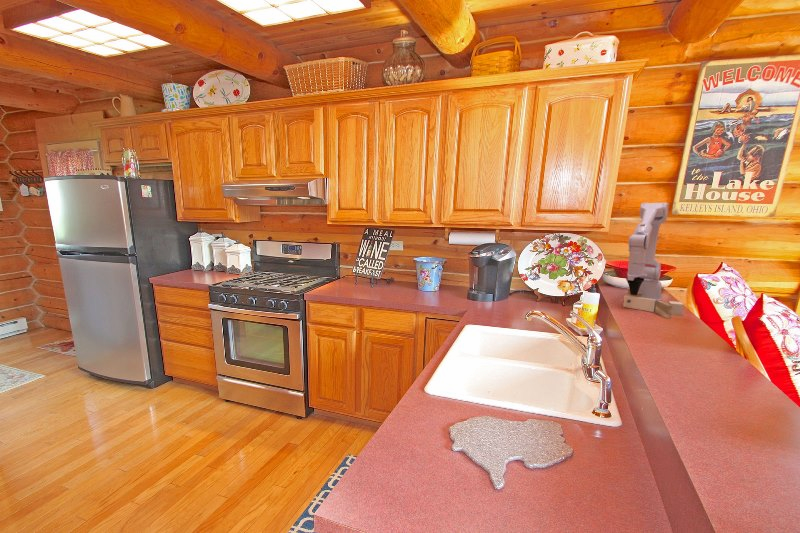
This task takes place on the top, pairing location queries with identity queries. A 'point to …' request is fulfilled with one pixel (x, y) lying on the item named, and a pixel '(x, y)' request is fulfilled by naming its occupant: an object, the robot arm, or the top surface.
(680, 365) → the top surface
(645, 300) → the door
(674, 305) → the doorstop block
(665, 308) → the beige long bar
